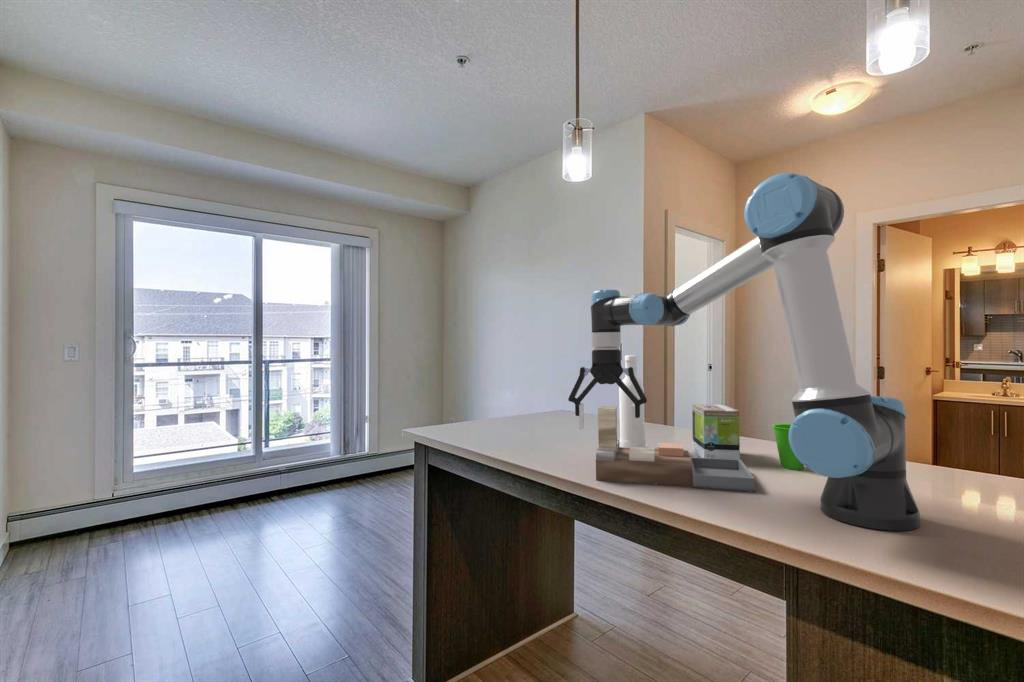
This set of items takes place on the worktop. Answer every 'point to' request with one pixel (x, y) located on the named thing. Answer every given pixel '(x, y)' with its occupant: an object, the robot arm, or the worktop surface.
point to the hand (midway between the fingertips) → (607, 429)
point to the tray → (721, 474)
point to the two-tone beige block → (607, 433)
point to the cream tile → (642, 454)
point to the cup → (786, 447)
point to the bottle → (625, 409)
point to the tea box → (716, 431)
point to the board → (647, 469)
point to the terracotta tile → (670, 449)
